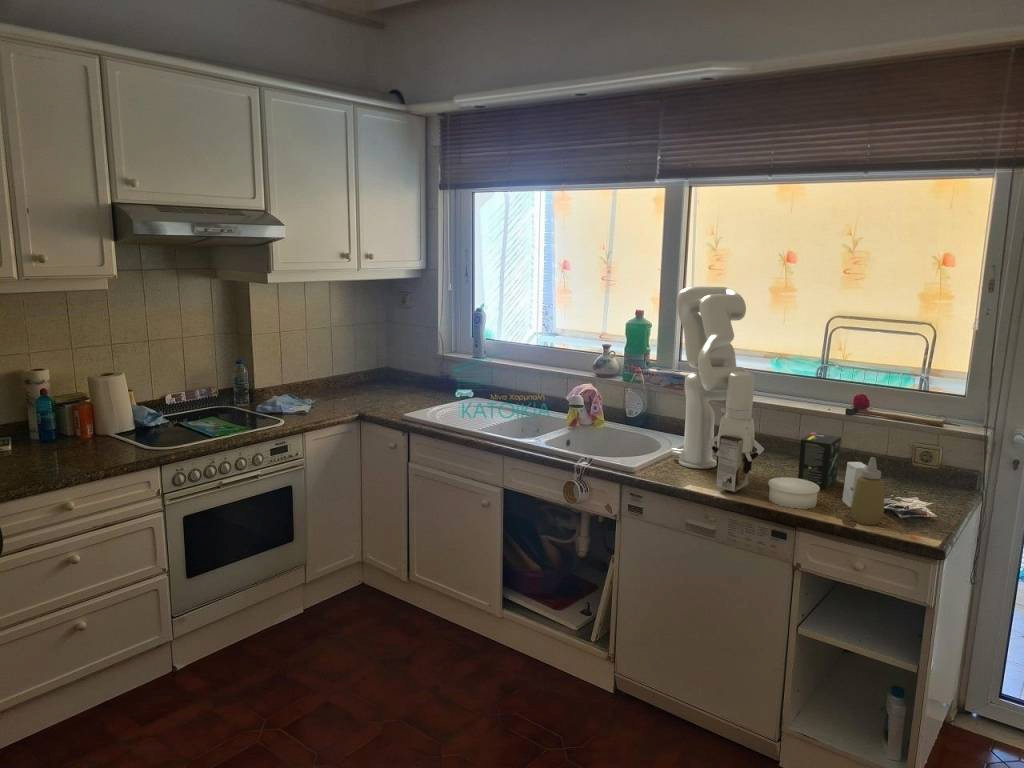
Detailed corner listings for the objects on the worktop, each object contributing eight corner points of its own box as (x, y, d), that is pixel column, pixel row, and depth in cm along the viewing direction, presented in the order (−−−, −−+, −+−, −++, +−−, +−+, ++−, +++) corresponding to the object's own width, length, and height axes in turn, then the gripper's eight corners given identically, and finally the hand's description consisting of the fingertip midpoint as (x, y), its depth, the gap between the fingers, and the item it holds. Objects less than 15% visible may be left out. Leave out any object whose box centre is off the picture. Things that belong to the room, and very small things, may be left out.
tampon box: (807, 475, 243) (811, 431, 240) (837, 481, 237) (841, 436, 234) (796, 483, 234) (800, 438, 231) (826, 489, 228) (830, 443, 226)
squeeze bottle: (887, 522, 202) (894, 458, 199) (875, 529, 197) (883, 464, 193) (856, 514, 208) (863, 451, 204) (844, 521, 202) (851, 457, 199)
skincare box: (841, 501, 218) (845, 461, 216) (856, 501, 218) (861, 461, 216) (850, 508, 212) (854, 467, 210) (866, 508, 212) (870, 467, 210)
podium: (763, 504, 215) (764, 487, 214) (771, 490, 227) (772, 474, 226) (814, 512, 208) (816, 495, 207) (820, 498, 220) (822, 482, 219)
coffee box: (729, 479, 232) (733, 429, 228) (748, 484, 227) (753, 433, 224) (715, 486, 225) (719, 435, 222) (734, 492, 221) (739, 440, 217)
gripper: (705, 412, 222) (701, 468, 226) (766, 420, 214) (760, 479, 218) (712, 406, 228) (707, 462, 232) (771, 414, 220) (765, 471, 224)
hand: (733, 469), depth 225 cm, fingers closed on coffee box, 7 cm apart
